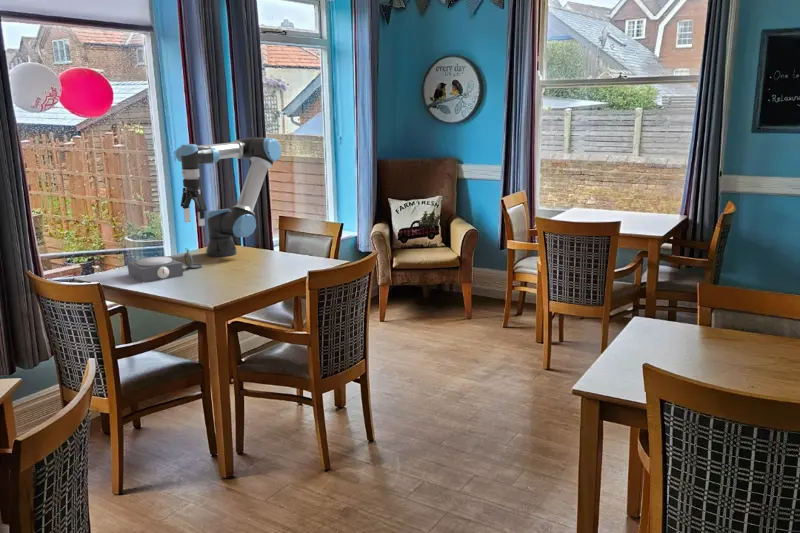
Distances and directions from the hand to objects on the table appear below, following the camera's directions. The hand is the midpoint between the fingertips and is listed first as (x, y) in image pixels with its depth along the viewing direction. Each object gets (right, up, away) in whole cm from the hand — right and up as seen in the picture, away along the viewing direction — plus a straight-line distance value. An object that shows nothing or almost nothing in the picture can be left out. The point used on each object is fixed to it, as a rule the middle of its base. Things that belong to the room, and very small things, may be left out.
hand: (194, 223), depth 316 cm
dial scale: (-15, -24, -9) cm, 30 cm away
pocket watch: (-2, -21, +5) cm, 21 cm away
